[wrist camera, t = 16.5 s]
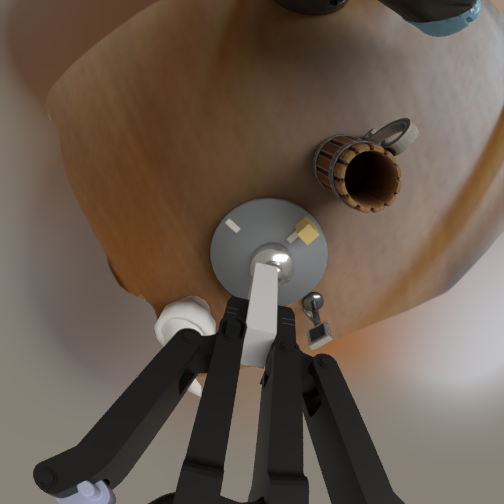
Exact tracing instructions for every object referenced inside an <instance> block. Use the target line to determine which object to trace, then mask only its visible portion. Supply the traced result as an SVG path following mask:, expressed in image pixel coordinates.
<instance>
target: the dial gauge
mask: <svg viewBox="0 0 504 504" xmlns="http://www.w3.org/2000/svg"><path fill="white" fill-rule="evenodd" d="M323 302H324V301H323V297H322V295H321V294H319V293H317V292H311V293H309V294H307V295H306V296H305V297H304V300H303V303H304V307H305V308H306V309H307V310H310V311H312V314H313V317H312V316H311V315H310V314H309V313H308V312H307V311H306V309H303V312H304V313H305V314H306V315H307V316H308V317H309V318H310V320H311V321H312V322H313V323H314V326H315V327H313V328H311V329H310V330H308V331H307V336H308V345H309V347H310V348H311V349H312V350H314V349H316V348H318V347H320V346H322V345H324V344H325V343H327V342H329V341H331V340H333V337H332V333H331V328H330V324H329V323H328V322H327V321H326V320H325V321H324V322H322V323H321V322H320V317H319V312H318V309H320V308H321V307H322V305H323Z"/></svg>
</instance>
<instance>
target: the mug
mask: <svg viewBox="0 0 504 504" xmlns="http://www.w3.org/2000/svg"><path fill="white" fill-rule="evenodd" d="M402 131H403V132H402ZM399 132H402V133H401V134H400V136H399V137H398V138H396V139H395V140H394V141H392V142H390V141H389V140H388V139H387V138H389V137H390V136H392V135H394V134H396V133H399ZM417 134H418V129H417V127H416V126H415V125H414V124H413V123H412V122H411V120H410V119H408V118H402V119H399V120H395V121H393V122H391V123H389V124H388V125H386V126H384V127H383V128H381V129H380V130H378V131H376V130H375V129H371V130H370V131H369V132H368V133H367V134H366V135H365V136H364V137H363V139H360V138H358V137H355V136H353V135H347V134H338V135H334V136H331V137H329V138H327V139H326V140H324V141H323V142H322V143H321V144H320V145H319V147H318V148H317V150H316V153H315V155H314V159H313V169H314V174H315V177H316V179H317V181H318V183H319V184H320V185H321V186H322V187H323V189H325V190H326V191H327V192H329V193H330V194H332V195H334V196H336V197H338V199H339V200H340V201H342V202H343V203H345V204H346V205H347V206H349V207H350V208H353V209H356V210H358V211H361V212H366V213H369V212H370V211H372V212H379V211H381V210H383V209H384V208H385V206H389V205H391V204H392V203H393V202H394V201H395V199H396V196H395V194H397V193H399V192H400V189H401V181H400V180H399V178H400V177H401V170H400V167H399V165H398V164H396V159H395V158H394V156H396V155H398V154H400V153H402V152H403V151H404V150H406V149H407V148H408V147H409V146H410V145H411V144H412V143H413V141H414V140H415V138H416V137H417ZM379 143H381V144H380V145H378V144H379Z"/></svg>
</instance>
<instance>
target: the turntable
mask: <svg viewBox="0 0 504 504" xmlns="http://www.w3.org/2000/svg"><path fill="white" fill-rule="evenodd" d="M269 242H276V243H280V244H282V245H284V246H286V247H287V248H288V249H289V250H290V252H291V254H292V256H293V263H294V274H293V277H292V278H291V280H290V281H289V282H288V283H287V284H286V285H284V286H282V287H279V288H278V293H277V305H279V306H283V305H287V304H290V303H293V302H295V301H297V300H299V299H301V298H303V297H304V296H306V295H307V294H308V293H310V292H311V291H312V290H313V289H314V288H315V287H316V285H317V284H318V283H319V281H320V280H321V278H322V276H323V274H324V272H325V269H326V265H327V260H328V249H327V243H326V239H325V236H324V234H323V232H322V230H321V227H320V226H319V224H318V222H317V221H316V220H315V218H314V217H313V216H312V215H311V214H310V213H309V212H308V211H307V210H305V209H304V208H303V207H301V206H300V205H298V204H296V203H294V202H291V201H288V200H285V199H281V198H273V197H264V198H257V199H252V200H249V201H246V202H244V203H242V204H240V205H238V206H237V207H235V208H234V209H232V210H231V211H230V212H229V213H228V214H227V215H226V216H225V217H224V218H223V220H222V221H221V223H220V224H219V226H218V227H217V229H216V231H215V233H214V236H213V239H212V242H211V249H210V258H211V264H212V267H213V270H214V273H215V275H216V277H217V279H218V280H219V282H220V283H221V284H222V286H223V287H224V288H225V289H226V290H227V291H228V292H229V293H231V294H232V295H233V296H235V297H238V298H243V299H247V300H248V294H249V290H250V286H251V282H252V275H251V272H250V266H251V261H252V256H253V253H254V251H255V250H256V249H257V248H258V247H259V246H261V245H262V244H265V243H269Z"/></svg>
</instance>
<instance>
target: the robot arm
mask: <svg viewBox="0 0 504 504" xmlns="http://www.w3.org/2000/svg"><path fill="white" fill-rule="evenodd" d="M274 1H275V2H277V3H278V4H280V5H281V6H283V7H285V8H287V9H289V10H292V11H295V12H298V13H303V14H310V15H323V14H329V13H332V12H335V11H337V10H339V9H341V8H342V7H343V6H344V5H345V4H346V3H347V2H348V0H274ZM378 1H380V2H381V3H383V4H384V5H386V6H387V7H389V8H390V9H392V10H393V11H395V12H396V13H397V14H399V15H400V16H401V17H402V18H403V19H404V20H405V21H407V22H409V23H411V24H413V25H414V26H416V27H417V28H418V29H420V30H421V31H422V32H424V33H426V34H428V35H431V36H435V37H442V36H447V35H451V34H454V33H456V32H458V31H460V30H462V29H464V28H465V27H467V26H468V23H469V22H472V21H474V20H475V19H476V18H477V17H478V15H479V14H480V11H481V3H480V1H479V0H378ZM277 293H278V267H275V266H271V265H266V264H261V263H257V262H256V265H255V269H254V273H253V277H252V282H251V286H250V290H249V294H248V300H247V299H243V298H238V297H234V296H233V297H231V298H230V299H229V300H228V302H227V306H226V310H225V313H224V317H223V318H222V320H221V321H220V325H219V331H218V332H217V333H215V334H213V335H208V336H202V335H201V334H200V333H199V332H198V331H197V330H195V329H191V328H184V329H180V330H179V331H177V332H176V334H175V335H174V336H173V337H172V338H171V339H170V340H169V341H168V343H167V344H166V345H165V346H164V347H163V348H162V349H161V351H160V352H159V353H158V354H157V355H156V356H155V357H154V358H153V360H152V361H151V362H150V363H149V364H148V365H147V366H146V367H145V369H144V370H143V371H142V372H141V373H140V374H139V375H138V377H137V378H136V379H135V380H134V381H133V382H132V383H131V385H130V386H129V387H128V388H127V389H126V390H125V392H123V394H122V395H121V396H120V397H119V398H118V399H117V400H116V402H115V403H114V404H113V405H112V406H111V407H110V408H109V410H108V411H107V412H106V413H105V414H104V415H103V417H102V418H101V419H100V420H99V421H98V422H97V423H96V424H95V426H94V427H93V428H92V429H91V430H90V431H89V432H88V434H87V435H86V436H85V437H84V438H83V439H82V441H81V442H80V443H79V444H78V445H77V446H75V447H73V448H71V449H69V450H67V451H65V452H62V453H60V454H58V455H56V456H54V457H51V458H49V459H47V460H45V461H42V462H40V463H39V464H37V465H36V466H35V469H34V471H33V477H34V480H35V483H36V484H37V485H38V487H39V488H40V489H41V490H43V491H44V492H46V493H48V494H50V495H52V496H53V497H54V498H55V499H56V500H57V502H58V503H59V504H115V503H116V497H115V495H114V493H113V491H112V490H113V489H114V488H115V487H116V486H117V485H118V484H120V483H121V482H122V481H123V479H124V478H125V477H126V476H127V475H128V473H129V472H130V470H131V469H132V468H133V466H134V465H135V464H136V462H137V461H138V459H139V458H140V457H141V455H142V454H143V453H144V451H145V450H146V448H147V447H148V446H149V444H150V443H151V441H152V440H153V439H154V437H155V435H156V434H157V433H158V431H159V430H160V428H161V427H162V426H163V424H164V423H165V421H166V420H167V419H168V417H169V416H170V414H171V413H172V411H173V410H174V408H175V407H176V406H177V404H178V403H179V401H180V400H181V398H182V397H183V395H184V394H185V393H186V391H187V390H188V388H189V387H190V385H191V384H192V382H193V381H194V379H195V378H196V376H197V375H198V373H207V377H206V381H205V385H204V388H203V392H202V396H201V400H200V403H199V407H198V411H197V415H196V418H195V422H194V426H193V430H192V434H191V438H190V442H189V446H188V449H187V454H186V457H185V460H184V462H183V465H182V469H181V472H180V477H179V480H178V484H177V488H176V492H174V493H169V494H166V495H163V496H161V497H159V498H157V499H156V500H154V501H152V502H150V503H148V504H309V483H308V479H307V477H305V476H304V473H303V413H304V417H305V420H306V423H307V426H308V430H309V433H310V436H311V439H312V442H313V445H314V449H315V451H316V455H317V458H318V462H319V465H320V468H321V471H322V475H323V478H324V481H325V484H326V487H327V490H328V494H329V497H330V500H331V503H332V504H404V503H403V501H402V500H401V499H400V498H399V497H398V496H397V495H396V494H395V493H394V492H393V490H392V488H391V485H390V483H389V480H388V478H387V475H386V473H385V471H384V468H383V466H382V463H381V461H380V459H379V456H378V454H377V452H376V449H375V447H374V444H373V442H372V440H371V437H370V435H369V433H368V431H367V428H366V426H365V424H364V421H363V419H362V417H361V415H360V412H359V410H358V408H357V406H356V404H355V401H354V399H353V397H352V395H351V393H350V390H349V388H348V386H347V384H346V381H345V379H344V377H343V375H342V373H341V371H340V368H339V366H338V364H337V362H336V361H335V359H334V358H333V357H331V356H330V355H327V354H317V355H316V356H314V357H312V356H309V355H307V354H305V353H303V352H302V351H301V350H300V348H299V346H298V345H297V343H296V332H295V314H294V312H293V311H292V309H291V308H289V307H284V306H279V305H277ZM240 364H243V365H248V366H253V367H259V368H264V366H265V371H264V374H263V377H262V379H261V382H260V384H262V391H261V402H260V413H259V424H258V434H257V443H256V454H255V463H254V472H253V481H252V487H251V490H250V493H249V498H248V502H245V503H239V502H236V501H233V500H231V499H228V498H225V497H223V496H220V493H221V487H222V480H223V474H224V461H225V455H226V449H227V443H228V437H229V431H230V425H231V419H232V413H233V407H234V400H235V394H236V388H237V382H238V376H239V369H240ZM265 364H266V365H265ZM302 410H303V411H302Z"/></svg>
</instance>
